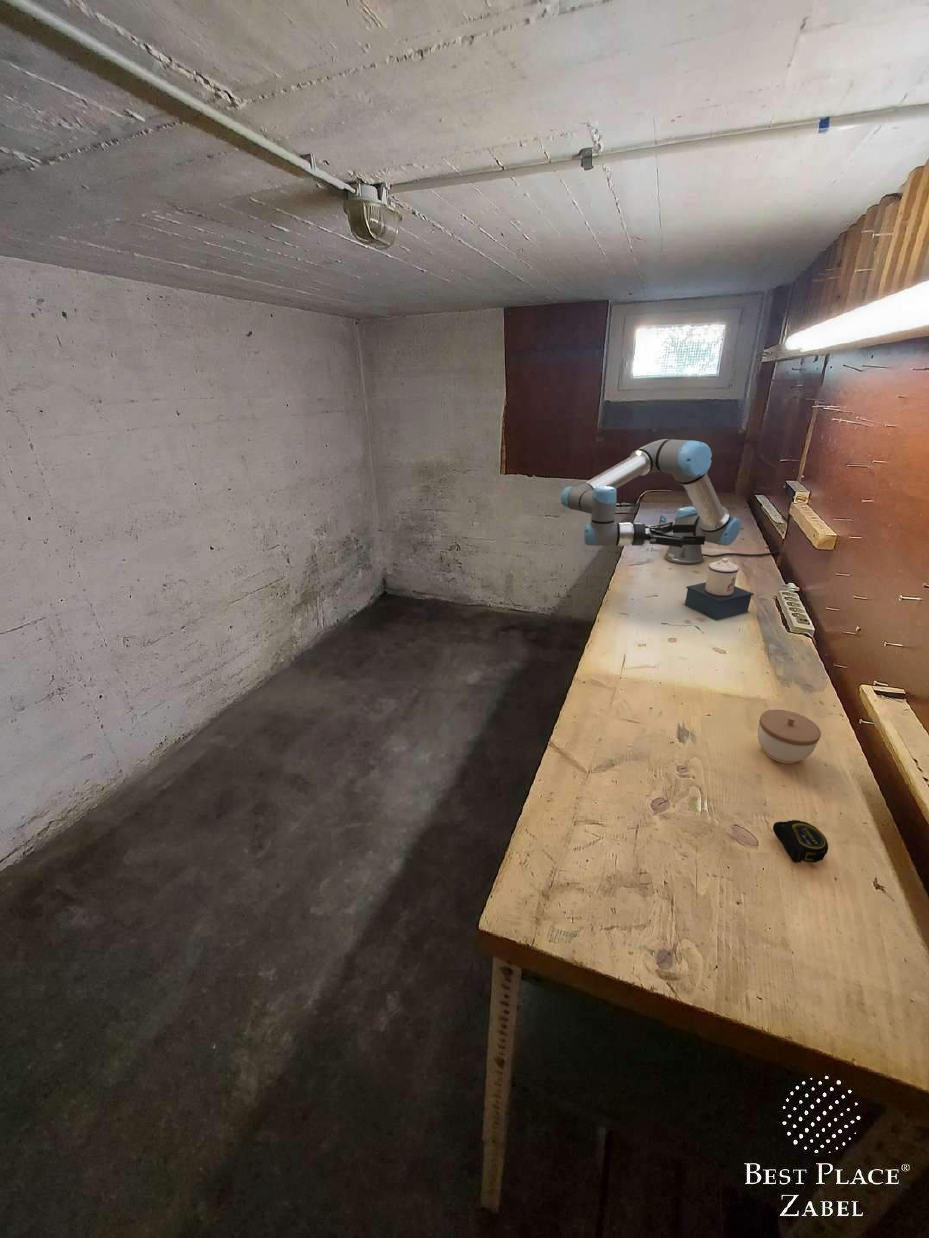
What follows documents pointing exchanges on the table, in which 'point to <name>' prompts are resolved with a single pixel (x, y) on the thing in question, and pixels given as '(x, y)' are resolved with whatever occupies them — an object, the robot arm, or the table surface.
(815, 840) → the tape measure
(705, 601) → the storage box
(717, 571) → the teacup with lid
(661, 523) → the label tape box
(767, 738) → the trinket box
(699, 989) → the table surface
